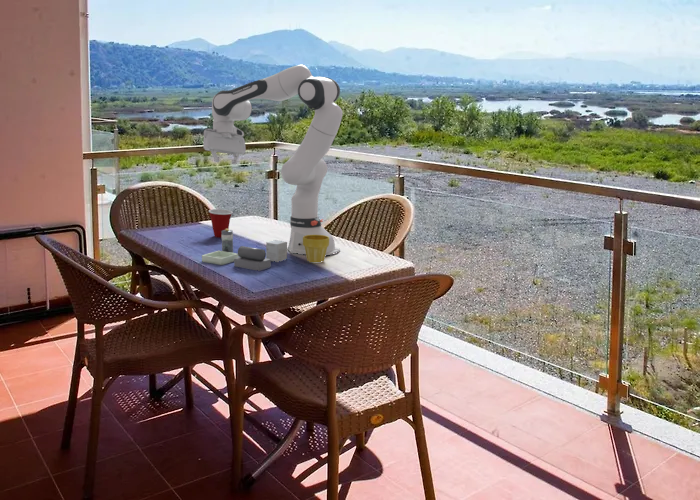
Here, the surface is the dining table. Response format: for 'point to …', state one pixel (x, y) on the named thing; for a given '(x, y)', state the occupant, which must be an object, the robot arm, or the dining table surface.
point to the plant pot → (315, 247)
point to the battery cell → (227, 240)
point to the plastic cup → (220, 220)
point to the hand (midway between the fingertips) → (225, 162)
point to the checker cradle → (252, 258)
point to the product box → (276, 250)
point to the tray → (219, 257)
